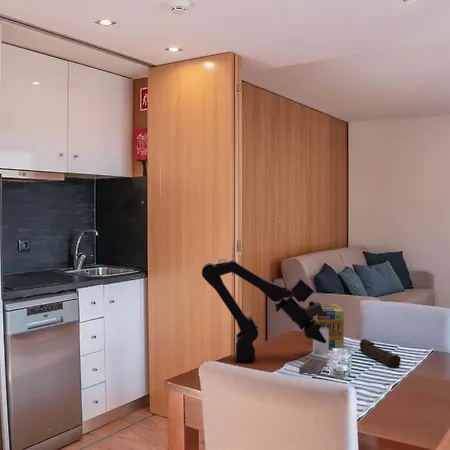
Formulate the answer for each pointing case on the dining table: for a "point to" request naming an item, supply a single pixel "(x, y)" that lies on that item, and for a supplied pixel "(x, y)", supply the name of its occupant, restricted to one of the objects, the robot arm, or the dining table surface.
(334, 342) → the protein box
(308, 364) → the grey gold-striped flat block
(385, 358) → the dark brown rod
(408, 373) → the dining table surface
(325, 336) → the pale upright block
